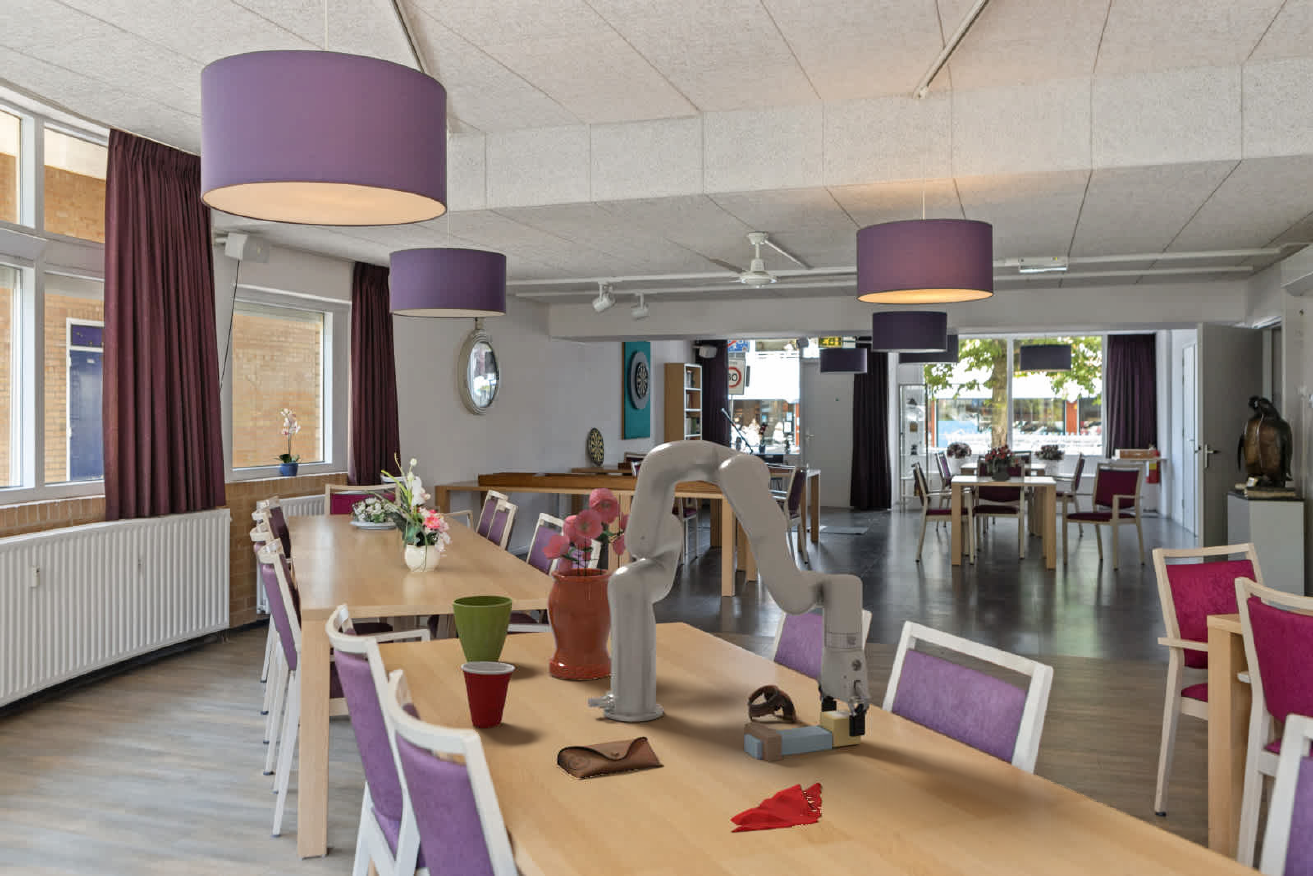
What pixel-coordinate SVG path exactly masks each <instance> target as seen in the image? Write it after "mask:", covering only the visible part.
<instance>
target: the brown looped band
mask: <svg viewBox="0 0 1313 876" xmlns="http://www.w3.org/2000/svg"><path fill="white" fill-rule="evenodd" d="M762 696H763V698H764V699H765V702H762V703H758V704H755V701H756V700H758V698H759V697H762ZM747 700H748V702H747V706H748V709H747V710H748V711H747V714H748V718H749V720H750V721H753V718H756V719H757V718H761V717H765V716H768V715H772V716H776V713H775V712H778V711H780V710H782V715H783V717H792V718H793V723H794V724H797V722H798V718H797V713H796V711H797V710H796V709H795V706H794V703H793V702H794V701H792V698H791V697H790V696H789V695H788V693H786V692H785V691H784V690H781V689H779V687H778V686H777V685H776V684H767V685H766V684H765V685H763V686H761V687H759V688H757V689H756V690H754V691H753V692H752V693H751V694H750V695H749V696H748V698H747Z"/></svg>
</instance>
